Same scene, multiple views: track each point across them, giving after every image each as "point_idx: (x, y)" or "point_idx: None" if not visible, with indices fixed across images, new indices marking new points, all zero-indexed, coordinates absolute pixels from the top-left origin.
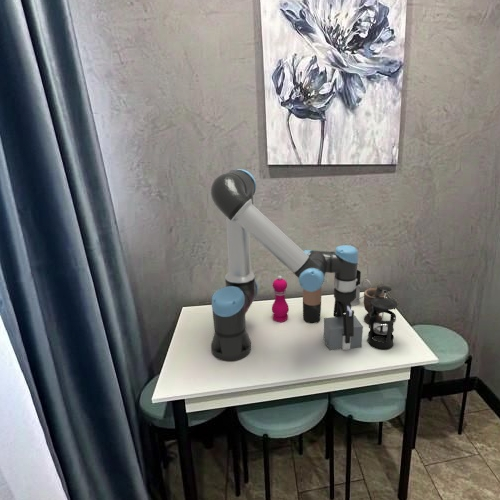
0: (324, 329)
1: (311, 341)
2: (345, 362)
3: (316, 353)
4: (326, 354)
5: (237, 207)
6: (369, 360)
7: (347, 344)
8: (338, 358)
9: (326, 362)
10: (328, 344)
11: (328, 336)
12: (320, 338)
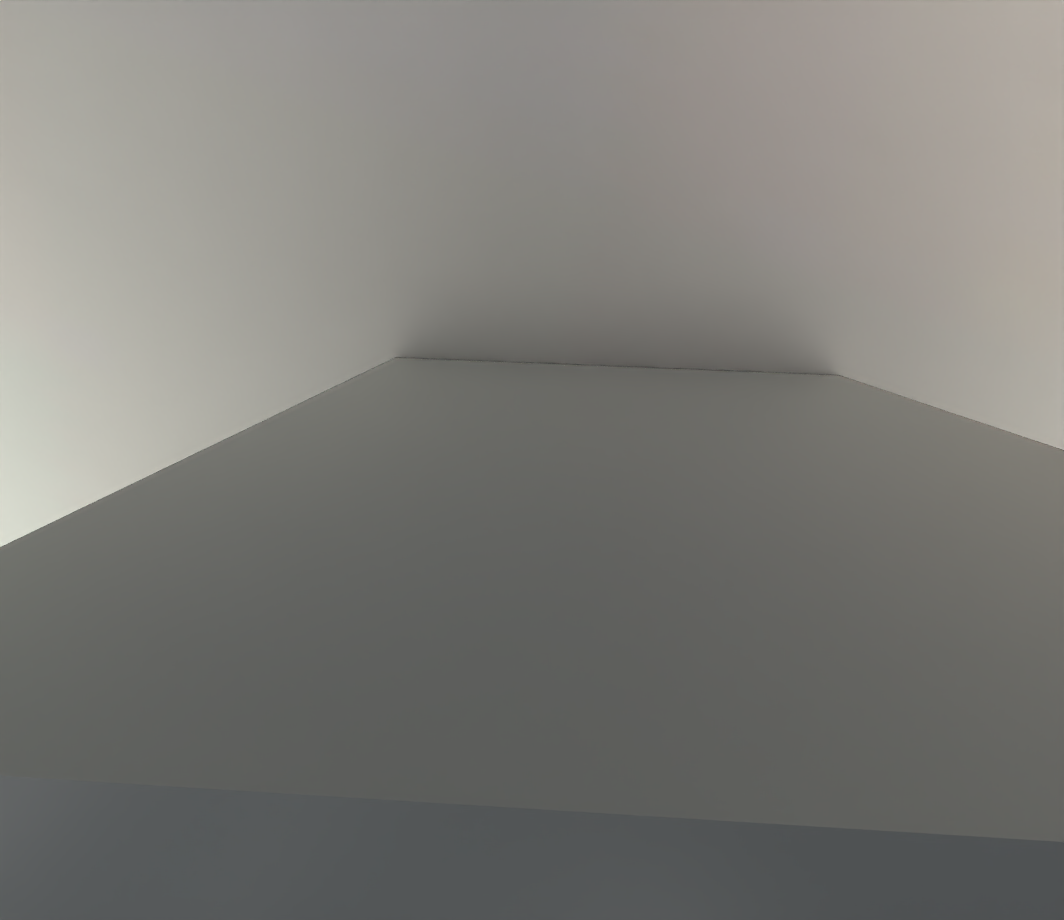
0: (966, 440)
1: (814, 33)
2: (45, 506)
3: (322, 15)
4: (275, 246)
5: None
6: None
7: None
8: (150, 432)
9: (11, 154)
10: (481, 373)
11: (473, 424)
12: (855, 304)
